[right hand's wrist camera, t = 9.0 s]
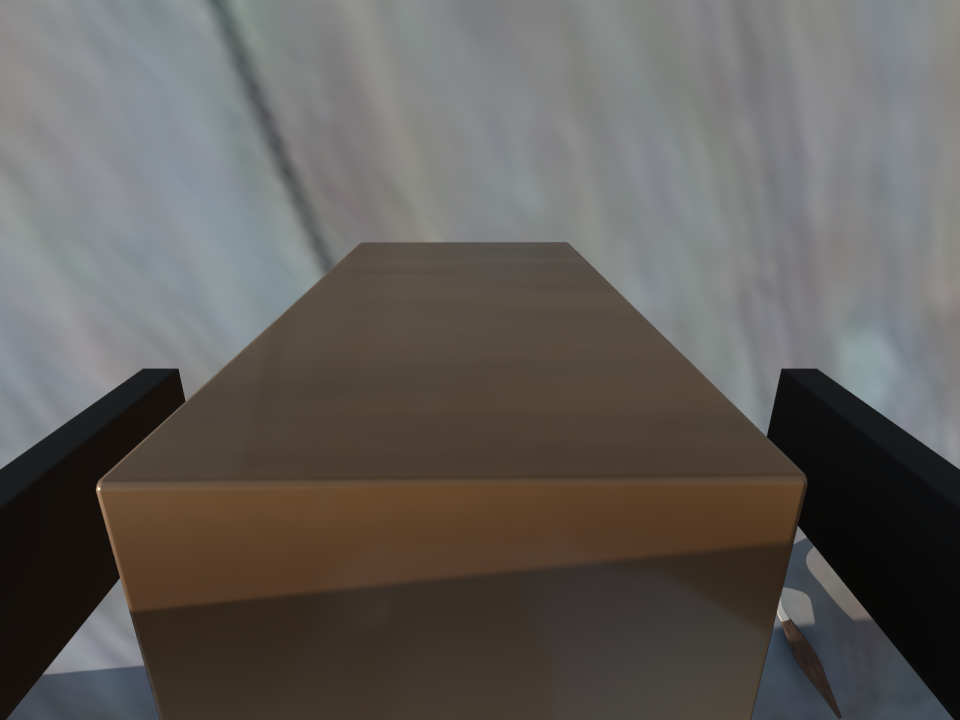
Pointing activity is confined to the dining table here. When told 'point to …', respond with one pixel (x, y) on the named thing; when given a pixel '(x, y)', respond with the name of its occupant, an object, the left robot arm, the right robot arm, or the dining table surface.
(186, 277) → the dining table surface
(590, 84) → the dining table surface
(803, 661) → the fork
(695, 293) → the dining table surface
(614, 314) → the box
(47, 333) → the dining table surface
